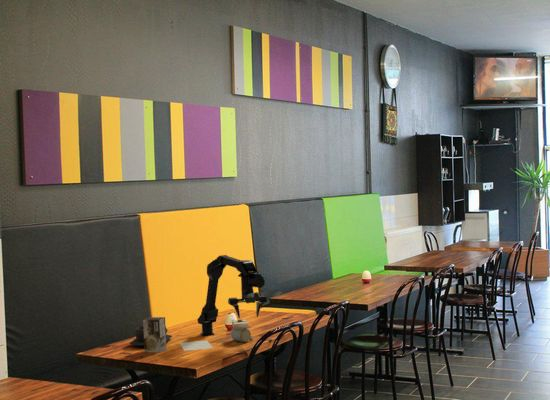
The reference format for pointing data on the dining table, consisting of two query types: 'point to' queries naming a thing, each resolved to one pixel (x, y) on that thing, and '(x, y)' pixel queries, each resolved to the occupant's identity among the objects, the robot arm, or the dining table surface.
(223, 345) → the dining table surface
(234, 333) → the ceramic mug
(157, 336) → the coffee box
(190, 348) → the mat
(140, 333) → the casserole
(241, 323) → the lid
